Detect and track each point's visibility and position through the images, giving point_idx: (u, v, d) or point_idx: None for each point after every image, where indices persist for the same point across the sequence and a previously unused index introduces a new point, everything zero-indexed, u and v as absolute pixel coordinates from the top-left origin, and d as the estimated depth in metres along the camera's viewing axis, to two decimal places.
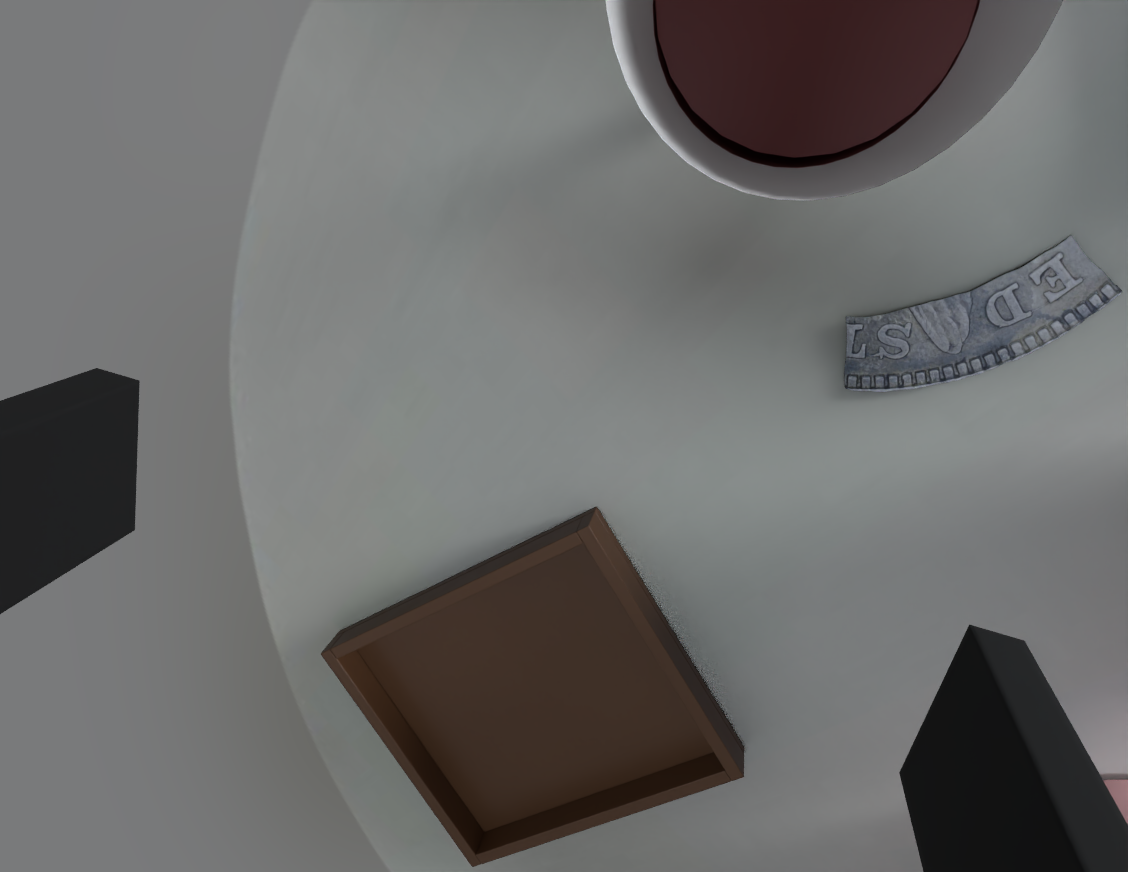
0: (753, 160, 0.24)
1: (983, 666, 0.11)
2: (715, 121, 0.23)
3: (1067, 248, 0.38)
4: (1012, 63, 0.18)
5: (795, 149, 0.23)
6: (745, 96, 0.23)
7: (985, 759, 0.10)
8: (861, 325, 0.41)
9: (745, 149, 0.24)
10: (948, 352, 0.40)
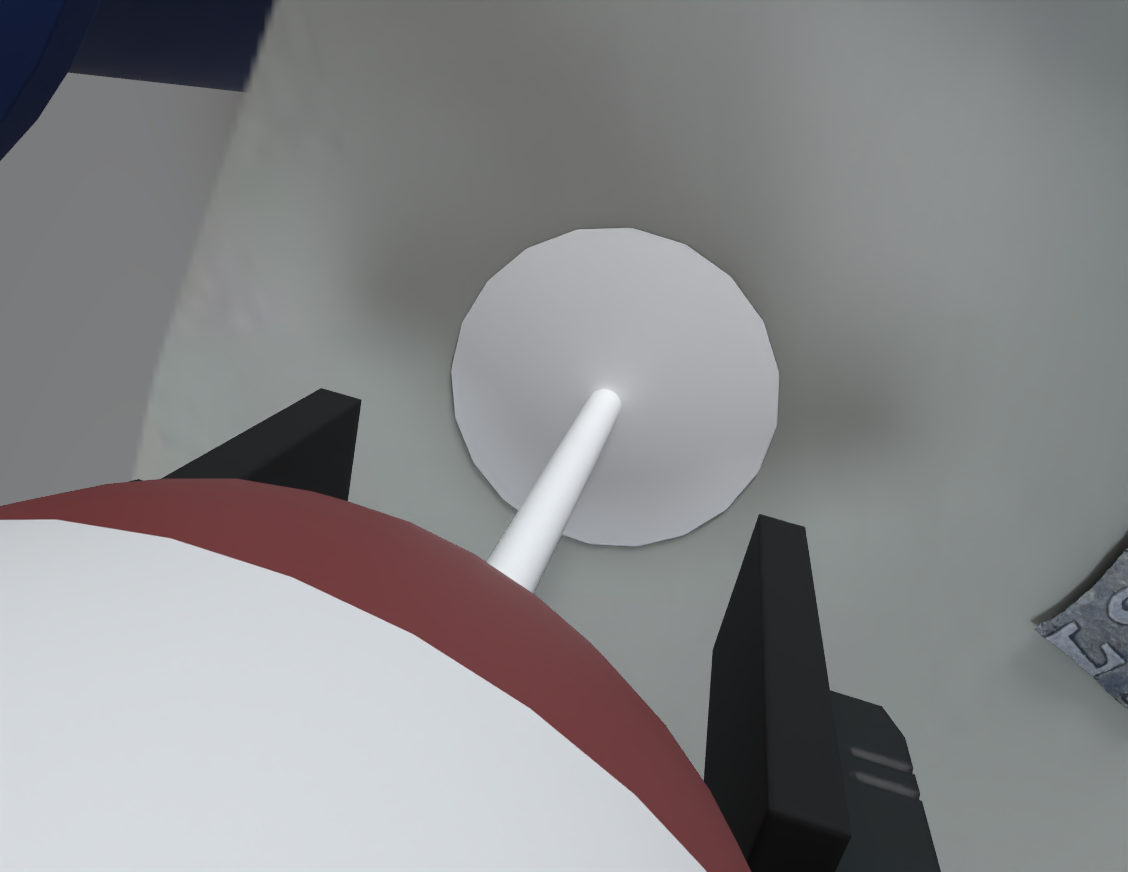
0: None
1: (758, 543, 0.13)
2: None
3: None
4: None
5: None
6: None
7: (746, 613, 0.12)
8: (1072, 625, 0.21)
9: None
10: None
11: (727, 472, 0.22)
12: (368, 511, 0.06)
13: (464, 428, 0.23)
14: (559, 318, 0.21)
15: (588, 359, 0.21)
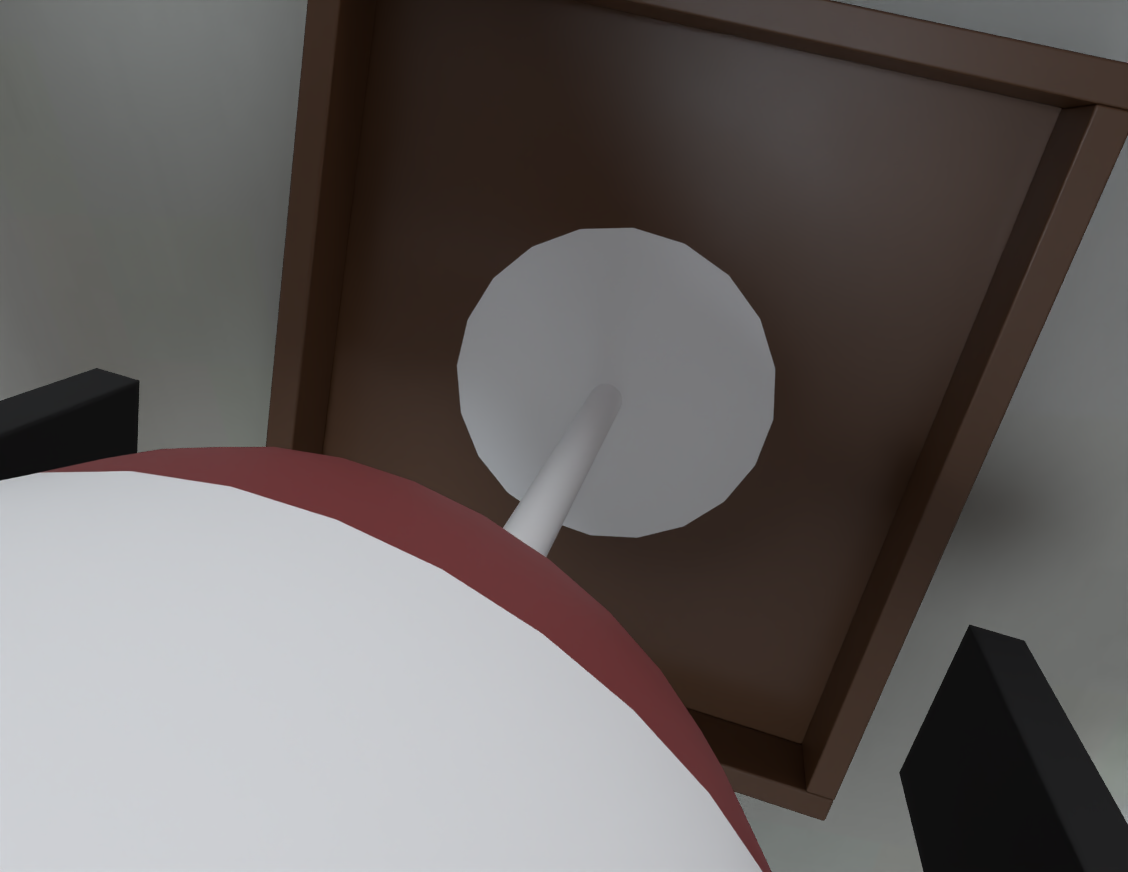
0: None
1: (983, 666, 0.11)
2: None
3: None
4: None
5: None
6: None
7: (985, 760, 0.10)
8: None
9: None
10: None
11: (724, 465, 0.22)
12: (394, 475, 0.06)
13: (469, 422, 0.24)
14: (562, 315, 0.22)
15: (590, 355, 0.22)
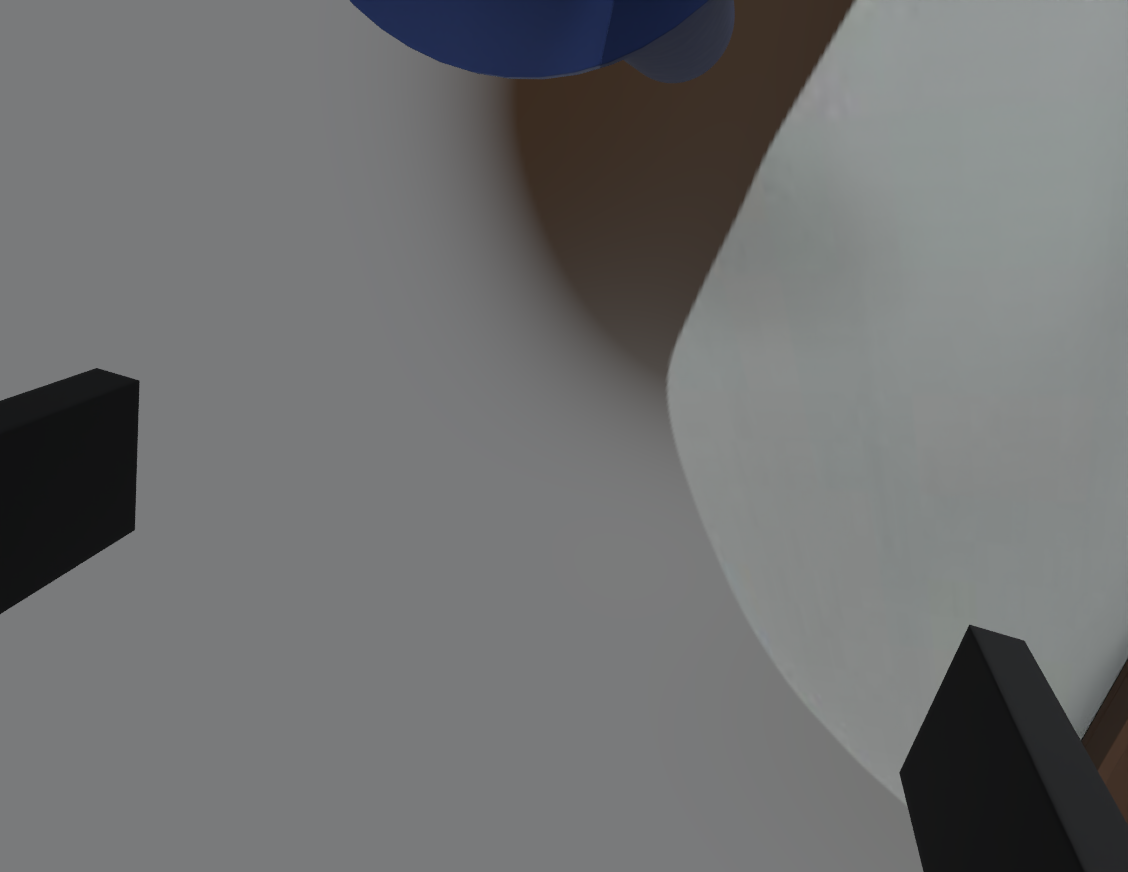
0: None
1: (983, 666, 0.11)
2: None
3: None
4: None
5: None
6: None
7: (985, 759, 0.10)
8: None
9: None
10: None
11: None
12: None
13: None
14: None
15: None
